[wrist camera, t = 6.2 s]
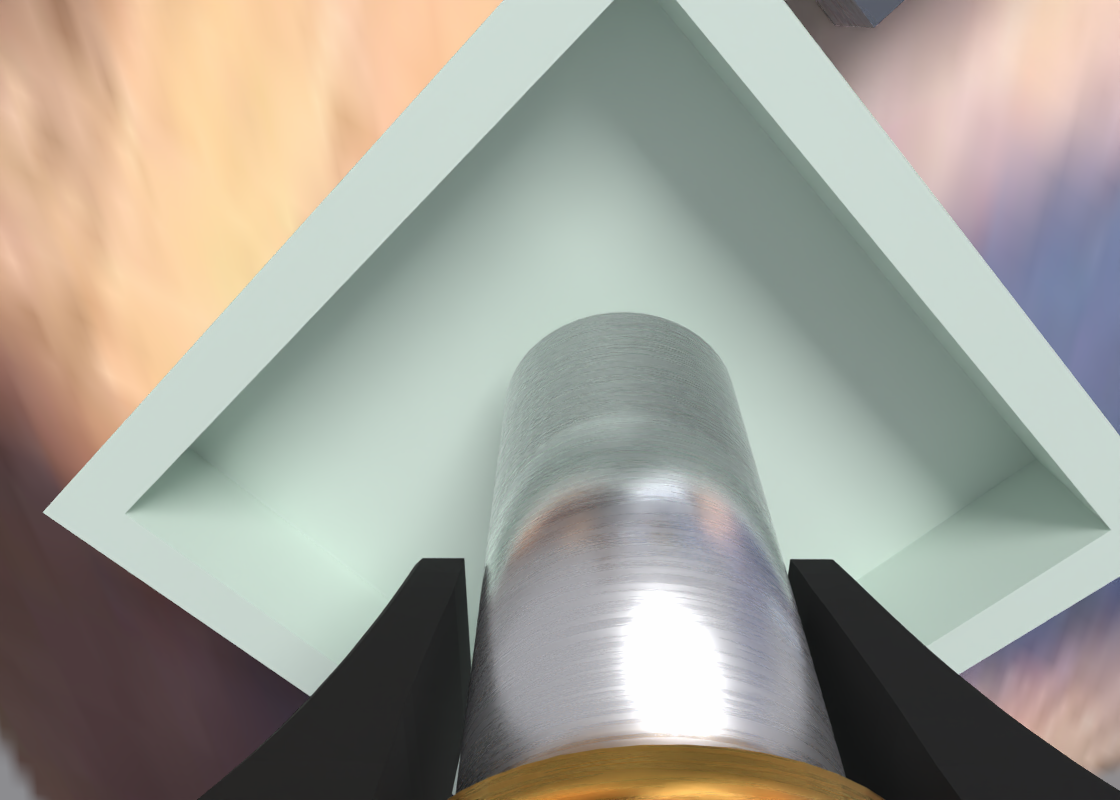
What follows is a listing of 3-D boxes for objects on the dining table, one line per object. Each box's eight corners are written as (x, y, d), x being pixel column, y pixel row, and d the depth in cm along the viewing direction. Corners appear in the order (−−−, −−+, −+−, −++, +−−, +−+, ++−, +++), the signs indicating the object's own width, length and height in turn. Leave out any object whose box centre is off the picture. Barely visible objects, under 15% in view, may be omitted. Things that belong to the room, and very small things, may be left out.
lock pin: (822, 419, 14) (1086, 1040, 7) (608, 559, 16) (634, 1158, 9) (633, 221, 12) (721, 792, 5) (416, 408, 14) (246, 1016, 7)
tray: (1079, 436, 17) (1193, 531, 14) (593, 764, 22) (598, 894, 18) (632, -125, 13) (654, -168, 10) (138, 420, 17) (43, 512, 14)
